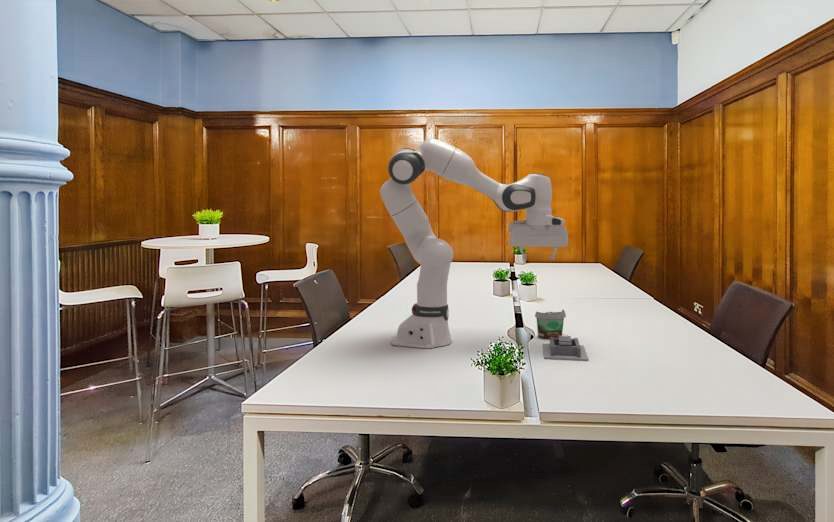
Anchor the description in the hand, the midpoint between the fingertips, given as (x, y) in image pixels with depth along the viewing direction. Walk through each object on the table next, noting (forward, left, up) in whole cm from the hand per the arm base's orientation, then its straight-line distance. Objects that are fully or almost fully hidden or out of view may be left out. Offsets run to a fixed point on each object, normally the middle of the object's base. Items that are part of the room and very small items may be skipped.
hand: (538, 259), depth 184 cm
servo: (+9, -8, -30) cm, 33 cm away
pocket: (+9, -8, -31) cm, 33 cm away
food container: (+6, +12, -31) cm, 34 cm away
